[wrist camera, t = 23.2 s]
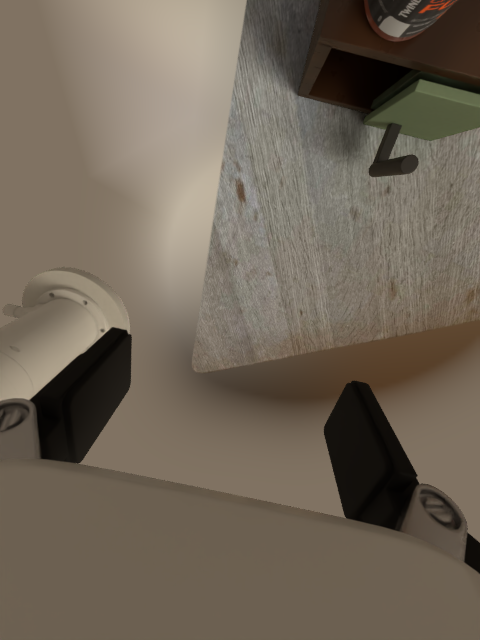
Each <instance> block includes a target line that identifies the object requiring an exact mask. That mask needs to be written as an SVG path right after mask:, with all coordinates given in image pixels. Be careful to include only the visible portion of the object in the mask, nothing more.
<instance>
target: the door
mask: <svg viewBox="0 0 480 640" xmlns="http://www.w3.org/2000/svg"><path fill="white" fill-rule="evenodd" d="M363 124H365V125H369V126H373V127H377V128H381V129H385V130H386V131H385V133H384V136H383V139H382V141H381V144H380V146H379V149H378V151H377V154H376V157H375V159H374V162H373V164H372V165H371V166H370V168H369V175H370V176H371V177H381V176H392V175H403V174H410V173H412V172H413V171H414V170H415V169H416V168H417V166H418V158H417V157H416V156H415V155H407V156H403V157H398V158H394V159H389V156H390V154H391V151H392V149H393V146H394V144H395V142H396V139H397V137H398V134H399V133H401V134H405V135H409V136H413V137H417V138H421V139H425V140H429V141H432V140H436V139H439V138H443V137H446V136H450V135H454V134H457V133H461V132H464V131H468V130H472V129H475V128H479V127H480V94H476V93H473V92H469V91H465V90H461V89H457V88H453V87H449V86H445V85H442V84H438V83H434V82H430V81H426V80H422V79H419V80H418V81H416V82H415V83H413V84H412V85H410V86H409V87H407V88H406V89H404V90H403V91H402V92H400V93H399V94H397V95H396V96H394V97H393V98H391V99H390V100H389V101H387V102H386V103H384V104H383V105H381V106H380V107H378V108H377V109H375V110H374V111H373V112H371V113H370V114H368V115H367V116H365V119H364V122H363ZM388 159H389V160H388Z"/></svg>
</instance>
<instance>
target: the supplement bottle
mask: <svg viewBox="0 0 480 640" xmlns="http://www.w3.org/2000/svg"><path fill="white" fill-rule="evenodd" d="M456 1H458V0H364V5H365V12H366V16H367V19H368V21H369V24H370V26H371V27H372V29H373V30H374V31H375V32H376V33H377V34H378V35H379V36H380V37H382V38H384V39H386V40H388V41H394V42H400V41H404V40H408V39H411V38H413V37H415V36H417V35H418V34H420V33H422V32H423V31H424V30H425V29H427V28H429V27H430V26H431V25H432V24H434V23H435V22H436V21H437V20H438V19H439V18H440V17H441V16H442V15H443V14H444V13H445V12H446V11H447V10H448V9H449V8H450V7H451V6H452V5H453V4H454V3H455V2H456Z"/></svg>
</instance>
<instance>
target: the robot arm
mask: <svg viewBox="0 0 480 640" xmlns="http://www.w3.org/2000/svg"><path fill="white" fill-rule="evenodd" d="M3 313H4V315H8V316H13V317H19V318H18V319H16V320H14V321H12V322H11V323H9V324H7V325H5V326H3V327H2V328H0V640H480V543H479V542H478V541H477V540H476V539H474V538H473V537H472V536H471V535H470V534H468V533H467V530H468V528H467V522H466V519H465V517H464V515H463V513H462V512H461V510H460V509H459V507H458V506H457V505H456V504H455V503H454V502H453V501H452V499H451V498H449V497H448V496H447V495H446V494H445V493H444V492H442V491H440V490H439V489H437V488H435V487H433V486H431V485H428V484H419V482H418V480H417V479H416V477H417V474H416V472H415V470H414V469H413V466H412V465H411V463H410V461H409V459H408V457H407V455H406V453H405V452H404V450H403V448H402V446H401V444H400V442H399V440H398V438H397V437H396V435H395V433H394V431H393V429H392V427H391V426H390V424H389V422H388V420H387V418H386V416H385V415H384V412H383V411H382V409H381V407H380V405H379V403H378V402H377V400H376V398H375V396H374V394H373V392H372V390H371V388H370V386H369V385H368V384H366V383H363V382H358V381H352V382H351V383H347V384H346V386H345V388H344V390H343V392H342V394H341V395H340V397H339V399H338V401H337V403H336V405H335V407H334V409H333V411H332V413H331V414H330V416H329V418H328V420H327V422H326V424H325V426H324V435H325V439H326V443H327V447H328V451H329V455H330V459H331V463H332V467H333V471H334V475H335V479H336V483H337V487H338V491H339V495H340V499H341V503H342V507H343V511H344V515H345V517H346V518H347V519H346V518H342V517H337V516H333V515H328V514H323V513H318V512H314V511H309V510H305V509H300V508H295V507H291V506H286V505H281V504H276V503H272V502H267V501H262V500H257V499H253V498H248V497H243V496H238V495H233V494H229V493H224V492H219V491H214V490H209V489H204V488H199V487H194V486H189V485H185V484H180V483H174V482H170V481H165V480H159V479H155V478H150V477H145V476H139V475H135V474H129V473H125V472H120V471H115V470H109V469H103V468H98V467H93V466H87V465H81V464H76V463H80V462H81V461H82V460H83V458H84V457H85V455H86V454H87V452H88V451H89V449H90V448H91V446H92V445H93V443H94V442H95V440H96V439H97V437H98V436H99V434H100V432H101V431H102V430H103V428H104V427H105V425H106V424H107V422H108V421H109V419H110V418H111V416H112V415H113V413H114V412H115V410H116V408H117V407H118V406H119V404H120V402H121V401H122V399H123V398H124V396H125V395H126V393H127V392H128V390H129V387H130V383H131V340H132V339H131V338H132V337H131V335H130V334H128V331H127V330H124V329H120V328H115V327H112V328H110V329H109V324H108V320H107V318H106V315H105V314H104V312H103V310H102V309H101V308H100V306H99V305H98V304H97V303H96V302H95V301H94V300H93V299H92V298H90V297H89V296H87V295H86V294H84V293H82V292H80V291H77V290H74V289H71V288H55V289H51V290H49V291H47V292H45V293H44V294H42V295H41V296H40V297H39V299H38V300H37V302H36V305H35V306H34V307H25V308H23V307H21V306H16V305H11V304H7V305H5V306H4V308H3ZM80 353H82V354H80ZM79 354H80V355H79Z"/></svg>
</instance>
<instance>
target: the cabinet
mask: <svg viewBox="0 0 480 640" xmlns="http://www.w3.org/2000/svg"><path fill="white" fill-rule="evenodd" d="M419 79H422V80H426V81H430V82H434V83H438V84H442V85H445V86H449V87H453V88H457V89H461V90H465V91H469V92H473V93H476V94H480V0H458V1H456V2H455V3H454V4H453V5H452V6H451V7H450V8H449V9H448V10H447V11H446V12H445V13H444V14H443V15H442V16H441V17H440V18H439V19H438V20H437V21H436V22H435V23H434V24H432V25H431V26H430V27H429V28H427V29H425V30H424V31H423V32H422V33H420V34H418V35H417V36H415V37H413V38H411V39H408V40H404V41H400V42H394V41H388V40H386V39H384V38H382V37H380V36H379V35H378V34H377V33H376V32H375V31H374V30H373V29H372V27H371V26H370V24H369V21H368V19H367V16H366V12H365V5H364V0H321V2H320V6H319V10H318V14H317V18H316V22H315V26H314V30H313V34H312V38H311V42H310V46H309V50H308V54H307V58H306V63H305V67H304V71H303V75H302V79H301V83H300V87H299V91H298V96H301V97H305V98H309V99H313V100H317V101H321V102H325V103H329V104H333V105H337V106H341V107H345V108H349V109H353V110H357V111H361V112H365V113H369V114H370V113H371V112H373V111H374V110H375V109H377V108H378V107H380V106H381V105H383V104H384V103H386V102H387V101H389V100H390V99H391V98H393V97H394V96H396V95H397V94H399V93H400V92H402V91H403V90H404V89H406V88H407V87H409V86H410V85H412V84H413V83H415V82H416V81H418V80H419Z"/></svg>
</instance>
